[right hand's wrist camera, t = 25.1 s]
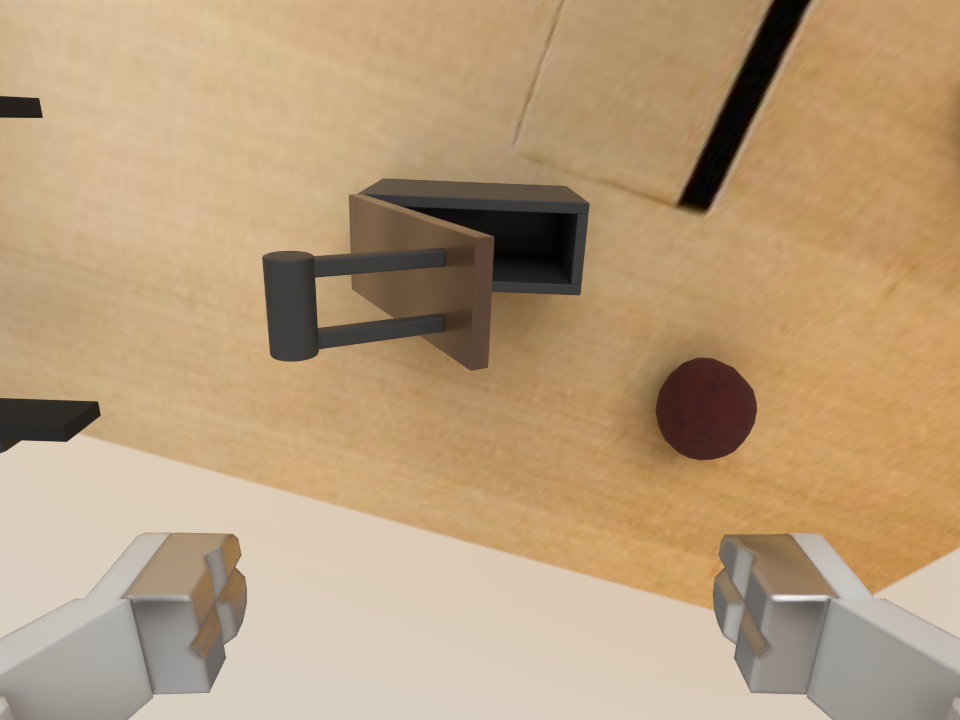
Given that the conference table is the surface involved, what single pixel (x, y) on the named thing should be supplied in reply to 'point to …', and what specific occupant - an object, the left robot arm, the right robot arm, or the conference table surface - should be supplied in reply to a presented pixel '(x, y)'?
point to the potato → (705, 409)
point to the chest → (508, 227)
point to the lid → (389, 285)
